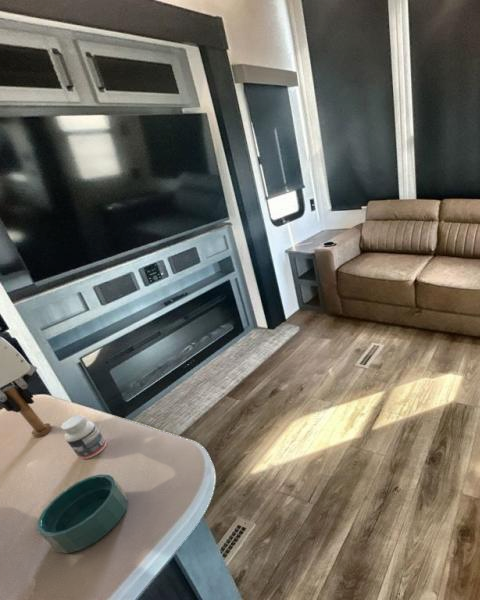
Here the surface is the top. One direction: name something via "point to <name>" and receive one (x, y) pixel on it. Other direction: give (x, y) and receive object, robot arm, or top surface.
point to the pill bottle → (83, 437)
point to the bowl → (83, 513)
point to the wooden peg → (28, 412)
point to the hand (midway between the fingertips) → (22, 406)
